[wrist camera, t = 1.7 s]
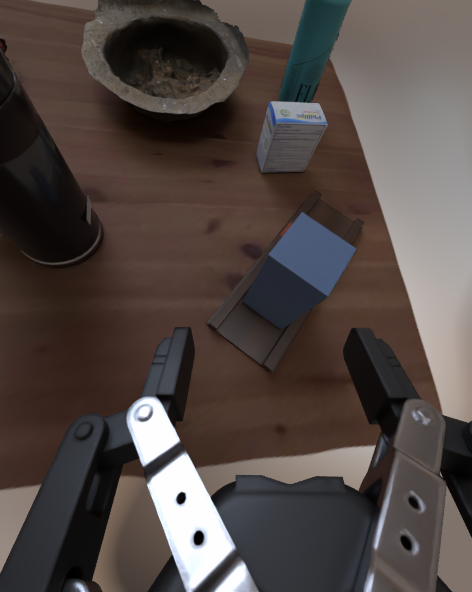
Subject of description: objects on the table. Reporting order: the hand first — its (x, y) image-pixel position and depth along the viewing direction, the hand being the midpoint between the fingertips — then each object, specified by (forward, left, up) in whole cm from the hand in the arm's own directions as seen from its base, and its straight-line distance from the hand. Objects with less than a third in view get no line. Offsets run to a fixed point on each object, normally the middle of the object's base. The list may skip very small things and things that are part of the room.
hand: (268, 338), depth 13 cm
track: (0, +17, -18) cm, 24 cm away
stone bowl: (-36, +32, -18) cm, 51 cm away
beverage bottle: (-19, +47, -18) cm, 53 cm away
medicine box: (-13, +33, -18) cm, 39 cm away
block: (0, +11, -17) cm, 20 cm away
